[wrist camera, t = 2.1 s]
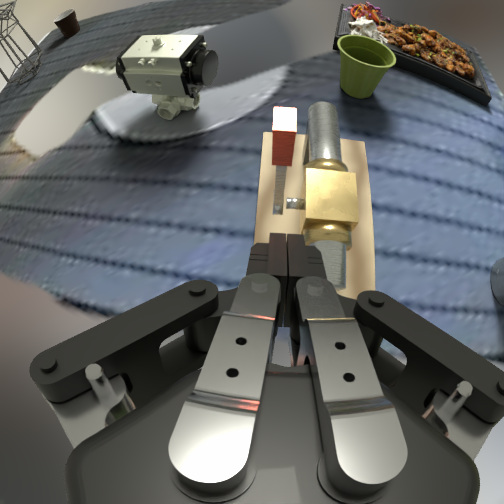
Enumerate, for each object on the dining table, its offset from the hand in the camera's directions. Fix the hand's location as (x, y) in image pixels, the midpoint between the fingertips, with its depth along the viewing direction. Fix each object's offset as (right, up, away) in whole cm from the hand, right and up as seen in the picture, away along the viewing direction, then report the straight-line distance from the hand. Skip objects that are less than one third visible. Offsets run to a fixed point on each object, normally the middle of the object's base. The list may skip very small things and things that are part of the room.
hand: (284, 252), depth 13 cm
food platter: (+44, +56, +48) cm, 86 cm away
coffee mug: (-69, +84, +61) cm, 124 cm away
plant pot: (+21, +35, +42) cm, 59 cm away
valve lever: (+2, +6, +24) cm, 25 cm away
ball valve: (-17, +29, +42) cm, 53 cm away
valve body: (+7, +6, +31) cm, 33 cm away
